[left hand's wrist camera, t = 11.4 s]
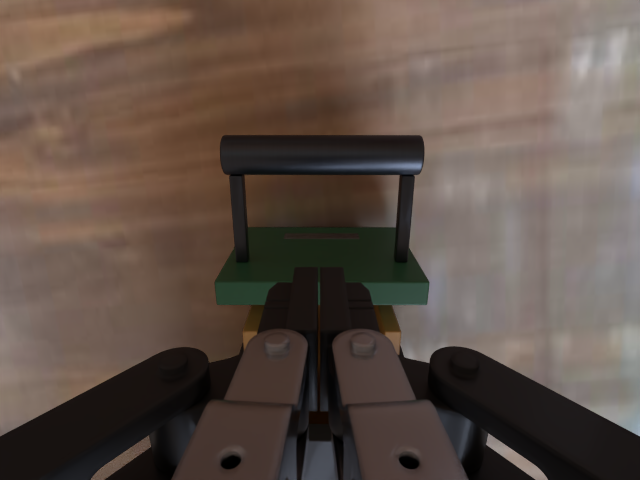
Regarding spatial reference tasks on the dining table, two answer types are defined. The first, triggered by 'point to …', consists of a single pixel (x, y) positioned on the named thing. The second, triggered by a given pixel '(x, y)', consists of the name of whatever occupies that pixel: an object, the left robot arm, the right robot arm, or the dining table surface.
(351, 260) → the drawer
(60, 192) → the dining table surface
